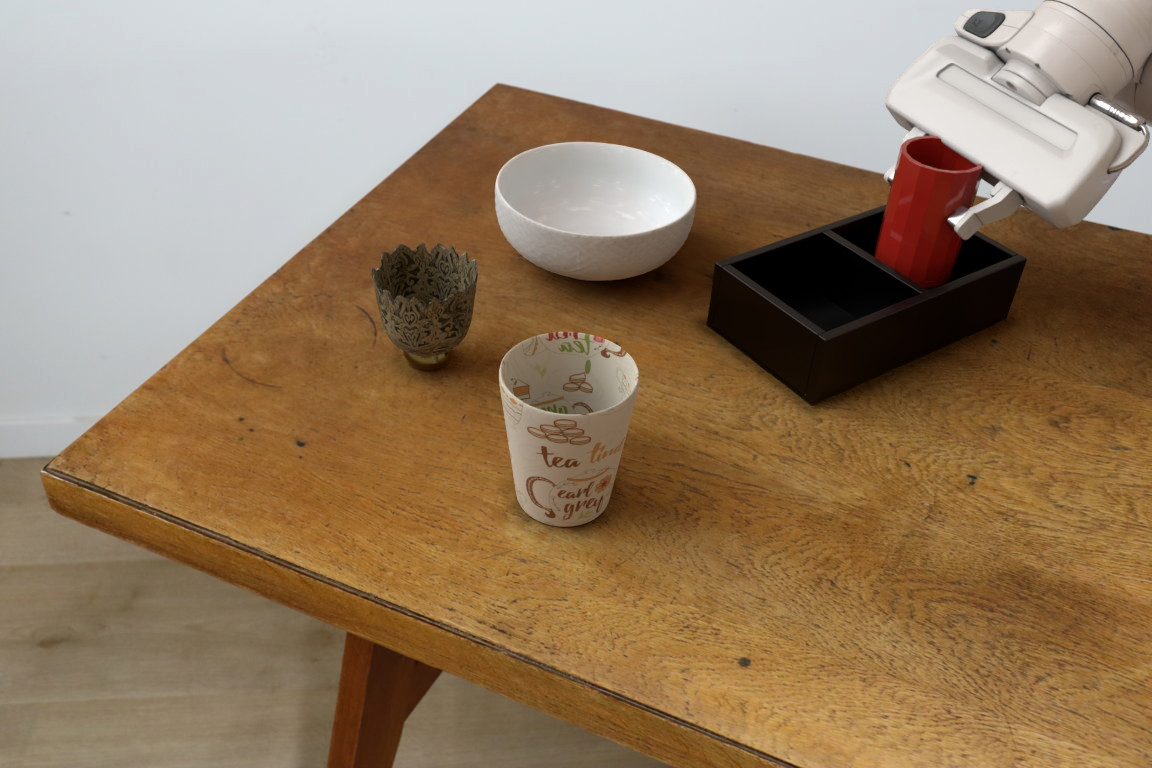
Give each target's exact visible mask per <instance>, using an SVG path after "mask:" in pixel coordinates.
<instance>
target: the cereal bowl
mask: <svg viewBox="0 0 1152 768" xmlns="http://www.w3.org/2000/svg"><path fill="white" fill-rule="evenodd" d="M494 185H495V187H494V203H495V207H494V209H495V211H496V212H495V214H496V217H497V223H498V225H499V228H500V231H501V232H502V234H503V237H505V239H506V240H507V242H508V244H510V245H511V247H512V248H513V249H515V251H517V253H518V254H519V255H521V256H522V258H524V259H525V260H527V261H529V262H530V263H532V264H534V265H535V266H536V267H539V268H541V269H543V270H545V271H547V272H550V273H554V274H556V275H559V276H563V277H567V278H571V279H574V280H580V281H588V282H601V281H603V282H605V281H610V282H611V281H615V280H616V281H617V280H618V281H620V280H625V279H629V278H635V277H637V276H640V275H644V274H646V273H648V272H649V273H650V272H651V271H653V270H656V269H657V268H658V269H659V267H661V266H664V264H665V263H666V262H669V261H670V260H671V259H672V258H673V257H674V256H676V255H677V254H678V253H677V252H678V251H680V249H681V248H682V247H683V246H684V244H685V243H686V240H687V239H688V238H689V234H690V232H691V230H692V226H693V223H694V219H695V216H696V209H697V201H698V196H697V195H698V194H697V190H696V186H695V184H694V181H692V179H691V177H690V176H689V175H688V174H687V173H686V172H685V171H684V170H683V169H682V168H680V167H679V165H676V164H675V163H674V162H672V161H670V160H668V159H666V158H665V157H662V156H660V155H657V154H655V153H652V152H648V151H645V150H643V149H640V148H635V147H631V146H627V145H621V144H615V143H608V142H607V143H606V142H598V141H597V142H595V141H569V142H568V141H567V142H559V143H558V142H557V143H551V144H546V145H545V144H544V145H542V146H538V147H534V148H531V149H528V150H525V151H522V152H521V153H519V154H516V155H515V156H514V157H512V158H510V159H509V160H507V162H505V163H504V164H503V166H502V167H501V168H500V170H499V171H498V174H497V176H496V180H495V184H494Z"/></svg>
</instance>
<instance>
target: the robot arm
mask: <svg viewBox="0 0 1152 768" xmlns="http://www.w3.org/2000/svg"><path fill="white" fill-rule="evenodd" d="M953 28H954V31H955V34H956V35H948V36H945V37H943V38H940V39H938V40H937V41H935V42H934V43H932V44H931V45H930V46H929V47H928V48H926V49H925V50H924V51H923V52H922V53H921V54H920V55H919V56H918V57H917V58H916V59H915V60H914V61H913V62H911V64H910V65H909V66H908V67H906V69H905V70H904V71H903V72H902V73H901V74H900V75H899V76H898V78H897V79H895V81H893V83H892V84H891V85H890V86H889V88H888V90H887V92H886V96H885V101H884V105H885V106H884V107H885V108H886V109H887V111H888V112H889V113H890V115H891V116H892V118H893V119H894V120H895V122H896V123H897V124H898V125H899V126H900V127H902V129H905V130H906V131H908V132H907V134H906V135H904V137H903V140H902V142H901V145H902V144H903V143H904V142H905V141H906V140H908V139H911V138H914V137H918V136H938V137H939V138H941V141H942V143H943V144H944V145H945V146H947V147H949V148H950V149H952V150H953V151H955V152H956V153H958V154H959V155H961V156H962V157H964V158H966V159H967V160H969V161H970V162H972V163H973V164H975V165H976V166H977V165H978V164H979V163H980V164H982V165H983V170H984V171H983V174H982V178H981V180H983V181H984V182H986V183H987V184H989V185H990V186H992V188H991V189H990V190H989V195H990V196H991V197H990V198H988V199H986V200H984V201H982V202H980V203H977V204H975V205H973V207H971V208H969V209H968V208H966V207H965V206H963V205H961V206H960V207H958V208H957V209H956V210H955V212H954V214H952V215H950V216H949V217H948V219H947V220H946V224H947V226H948V227H949V228H950V230H951V231H952V232H954V233H955V234H956V235H958V236H959V237H960V238H962V239H963V240H967V239H969V238H970V237H971V236H972V235H973V234H974V233H975V232H976V231H979V229H980V228H982V227H983V226H987V225H989V224H992V223H995V222H997V221H999V220H1003V219H1006V218H1008V217H1011V216H1012V215H1014V213H1016V212H1017V210H1018V209H1020V207H1023V208H1026V209H1027V210H1028V211H1030V212H1032V213H1033V214H1034V215H1036V216H1038V217H1039V218H1041V219H1043V221H1045V222H1047V223H1048V224H1050V225H1051V226H1053V227H1055V228H1056V229H1059V230H1064V229H1066V228H1070V227H1074V226H1076V225H1078V224H1080V223H1081V222H1082V221H1083V220H1084V219H1085V218H1086V217H1087V216H1088V215H1089V214H1090V213H1091V212H1092V210H1093V209H1094V208H1096V206H1097V205H1098V204H1099V202H1101V200H1102V199H1103V198H1104V197H1105V195H1106V194H1107V193H1108V191H1109V190H1110V189H1111V187H1112V186H1113V185H1114V184H1115V182H1116V181H1117V179H1119V177H1120V175H1122V173H1123V171H1124V170H1125V169H1127V168H1128V167H1130V166H1131V165H1132V164H1133V163H1134V162H1135V161H1136V160H1138V158H1139V157H1140V156H1141V155H1142V154H1143V153H1144V152H1145V151H1146V150H1147V148H1148V146H1149V142H1150V139H1151V134H1150V130H1149V128H1148V127H1150V128H1152V0H1043V1H1042V2H1041V3H1040V4H1039V5H1038V6H1037V7H1036V8H1035V9H1034V10H1029V9H1020V10H1001V9H988V8H977V7H974V8H969V9H966V10H965V11H964V12H963V13H961V14H960V16H959V17H958V18H957V19H956V20H955V21H954V24H953ZM898 156H899V154H898V155H897V160H898ZM897 160H896V161H895V162H894V164H892V166H890V167H889V169H888V170H887V171H886V172H885V173H884V175H883V180H884V182H885V183H886V184H887V185H888V187H890V188H891V184H892V180H893V176H894V172H895V168H896V164H897Z"/></svg>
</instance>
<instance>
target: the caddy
mask: <svg viewBox="0 0 1152 768" xmlns="http://www.w3.org/2000/svg"><path fill="white" fill-rule="evenodd" d="M886 204H887V203H886ZM886 204H883V205H879V206H877V207H873V208H870V209H868V210H865V211H861V212H859V213H857V214H854V215H851V216H848V217H844V218H841V219H839V220H836V221H833V222H830V223H826V224H823V225H821V226H818V227H815V228H813V229H809V230H807V231H803V232H800V233H798V234H794V235H792V236H788V237H786V238H783V239H780V240H777V241H774V242H771V243H768V244H765V245H762V246H759V247H755V248H753V249H750V250H747V251H745V252H742V253H739V254H736V255H733V256H730V257H726V258H724V259H720V260H717V261H716V262H715V263H714V269H713V276H712V283H711V291H710V296H709V297H710V299H709V303H708V312H707V317H706V318H707V319H706V326H707V327H708V328H710V329H711V330H712V331H714V332H715V333H716V334H718V335H719V336H720V337H722V338H723V339H724V340H726V341H727V342H728V343H730V344H731V345H732V346H734V347H735V348H736V349H737V350H738V351H739V352H741V353H742V354H743V355H745V356H746V357H748V358H749V359H750V360H751V361H753V362H754V363H755V364H756V365H758V366H760V367H761V368H762V369H764V370H765V371H766V372H767V373H768V374H769V375H771V376H772V377H774V378H775V379H776V380H777V381H779V382H780V383H782V384H783V385H784V386H785V387H787V388H788V389H789V390H791V391H792V392H793V393H794V394H796V395H797V396H798V397H800V398H801V399H802V400H804V401H805V402H806V403H807V404H809V405H810V406H814V405H816V404H818V403H821V402H822V401H825V400H827V399H830V398H832V397H834V396H836V395H839V394H841V393H843V392H845V391H847V390H850V389H852V388H854V387H857V386H859V385H861V384H863V383H866V382H869V381H870V380H873V379H874V378H875V379H876V378H877V377H879V376H882V375H884V374H887V373H888V372H891V371H893V370H895V369H897V368H899V367H902V366H904V365H906V364H908V363H911V362H914V361H915V360H918V359H920V358H922V357H925V356H927V355H929V354H931V353H933V352H937V351H938V350H940V349H942V348H944V347H947V346H949V345H952V344H954V343H956V342H958V341H960V340H963V339H965V338H968V337H970V336H972V335H974V334H977V333H979V332H981V331H984V330H986V329H988V328H990V327H992V326H994V325H997V324H999V323H1002V322H1003V321H1006V320H1008V318H1009V313H1010V311H1011V308H1012V305H1013V303H1014V299H1015V296H1016V293H1017V290H1018V288H1019V284H1020V282H1021V278H1022V275H1023V272H1024V269H1025V267H1026V264H1027V260H1028V258H1027V257H1026V256H1024V255H1023V254H1020V253H1019V252H1017V251H1016V250H1013V249H1011V248H1010V247H1008V246H1005V245H1004V244H1002V243H1001V242H999V241H997V240H995V239H993V238H991V237H989V236H987V235H986V234H984V233H982V232H980V231H979V230H977V231H976V232H975V233H974V234H973V235H972V236H971V237H970V238H969V239H967V240H963V241H962V244H961V247H960V251H959V254H958V257H957V261H956V264H955V267H954V270H953V272H952V275H951V278H950V279H949V280H948V281H947V282H946V283H944V284H942V285H940V286H936V287H929V288H924V287H922V286H921V285H919V284H917V283H916V282H914V281H912V280H911V279H909V278H908V277H906V276H904V275H903V274H901V273H899V272H898V271H896V270H894V269H893V268H891V267H890V266H888V265H886V264H885V263H883V262H881V261H880V260H878V259H877V258H875V257H874V256H875V249H876V245H877V241H878V237H879V233H880V229H881V225H882V221H883V217H884V212H885V208H886Z"/></svg>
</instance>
